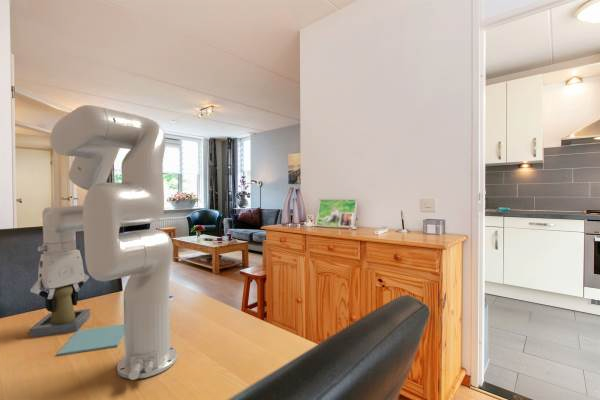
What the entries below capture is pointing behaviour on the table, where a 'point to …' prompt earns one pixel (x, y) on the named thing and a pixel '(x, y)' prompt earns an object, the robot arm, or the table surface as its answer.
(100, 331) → the rubber mat
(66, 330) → the square socket
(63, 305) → the cork
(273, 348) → the table surface
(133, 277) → the robot arm
